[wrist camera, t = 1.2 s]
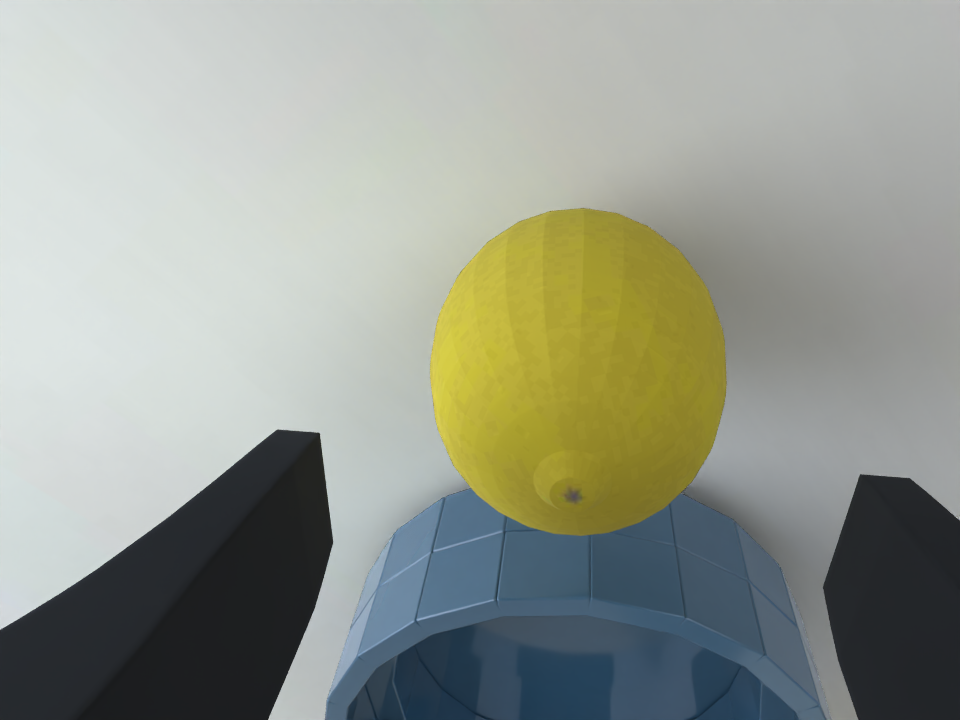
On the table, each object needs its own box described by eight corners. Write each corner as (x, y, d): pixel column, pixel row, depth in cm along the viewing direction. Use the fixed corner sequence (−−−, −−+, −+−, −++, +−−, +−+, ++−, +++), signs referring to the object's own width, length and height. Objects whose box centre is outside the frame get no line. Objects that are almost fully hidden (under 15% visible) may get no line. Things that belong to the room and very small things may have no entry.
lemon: (733, 323, 18) (818, 571, 12) (527, 404, 20) (497, 658, 14) (639, 114, 16) (678, 269, 9) (418, 225, 18) (317, 423, 11)
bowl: (882, 654, 24) (948, 822, 19) (557, 793, 29) (552, 946, 25) (598, 372, 20) (600, 504, 15) (287, 596, 25) (226, 737, 21)
